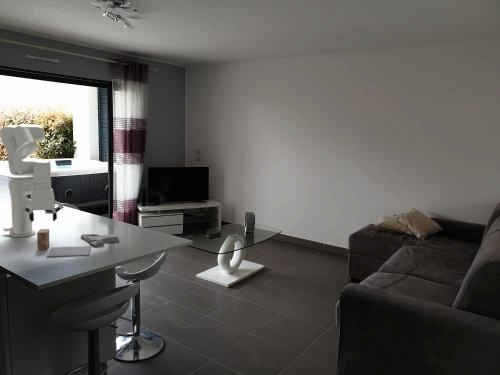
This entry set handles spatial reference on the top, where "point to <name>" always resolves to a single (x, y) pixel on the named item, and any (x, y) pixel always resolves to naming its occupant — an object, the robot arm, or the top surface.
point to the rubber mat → (69, 251)
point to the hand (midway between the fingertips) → (43, 221)
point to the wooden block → (42, 239)
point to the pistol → (99, 239)
